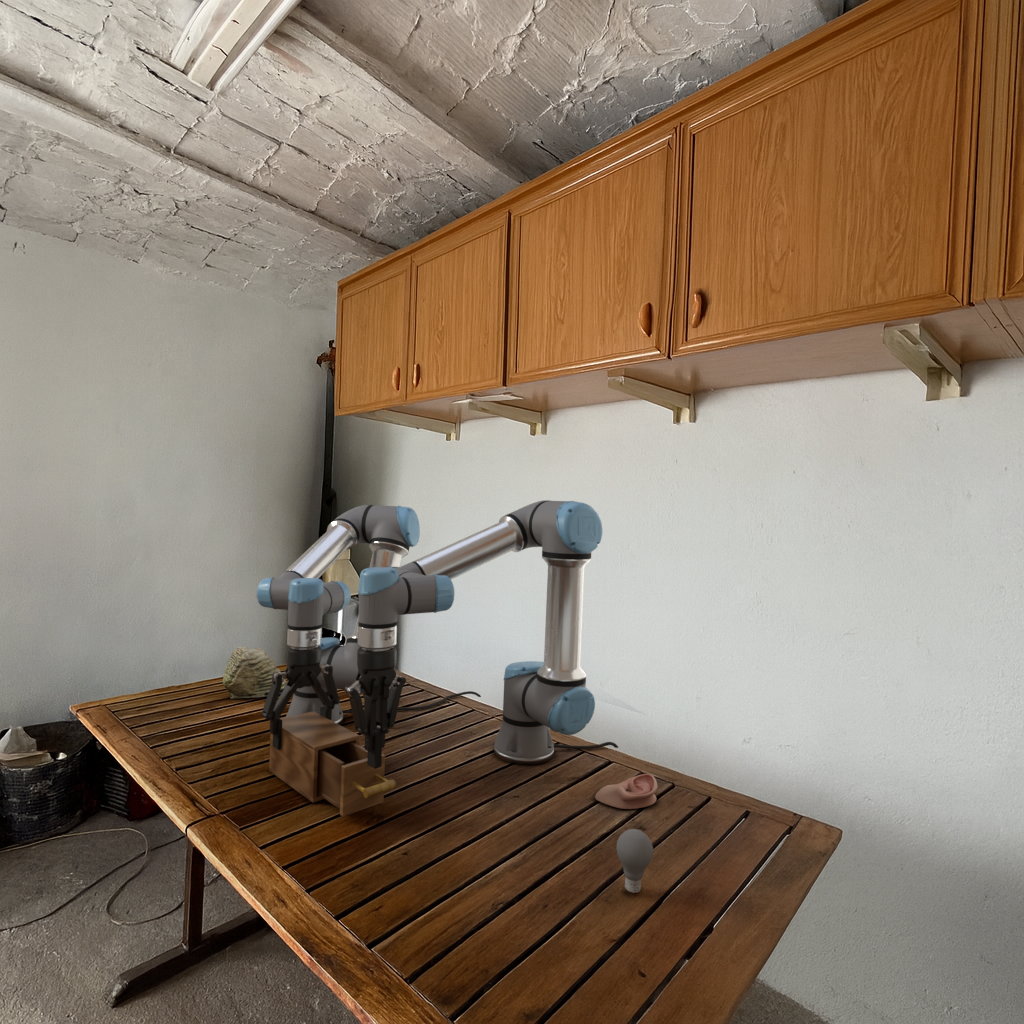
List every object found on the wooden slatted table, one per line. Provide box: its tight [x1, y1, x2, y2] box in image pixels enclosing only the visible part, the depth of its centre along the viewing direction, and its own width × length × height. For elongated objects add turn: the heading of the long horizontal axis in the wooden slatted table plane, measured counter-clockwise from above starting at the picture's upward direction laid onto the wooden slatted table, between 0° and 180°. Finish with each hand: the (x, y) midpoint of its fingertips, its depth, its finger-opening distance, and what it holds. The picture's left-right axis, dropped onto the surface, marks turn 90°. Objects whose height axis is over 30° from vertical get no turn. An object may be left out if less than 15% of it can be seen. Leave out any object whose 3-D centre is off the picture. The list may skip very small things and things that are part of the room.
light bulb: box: [615, 828, 654, 894], centre depth 106 cm, size 6×6×10 cm
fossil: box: [222, 646, 287, 699], centre depth 198 cm, size 9×18×15 cm, turn 132°
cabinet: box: [268, 711, 360, 803], centre depth 142 cm, size 21×11×12 cm, turn 45°
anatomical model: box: [594, 773, 658, 810], centre depth 139 cm, size 13×4×12 cm
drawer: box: [317, 741, 397, 818], centre depth 131 cm, size 26×9×10 cm, turn 45°
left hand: (300, 741), depth 146 cm, fingers closed on cabinet, 11 cm apart
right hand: (374, 765), depth 125 cm, fingers closed
